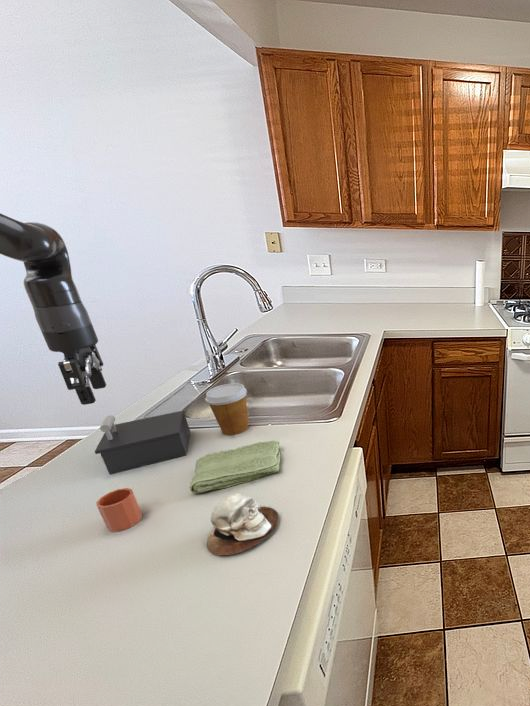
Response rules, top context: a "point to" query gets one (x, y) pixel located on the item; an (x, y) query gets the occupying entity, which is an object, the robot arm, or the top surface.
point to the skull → (239, 524)
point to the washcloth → (235, 466)
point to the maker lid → (138, 431)
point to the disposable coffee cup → (229, 407)
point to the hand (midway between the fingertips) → (94, 395)
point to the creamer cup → (119, 509)
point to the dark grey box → (148, 452)
